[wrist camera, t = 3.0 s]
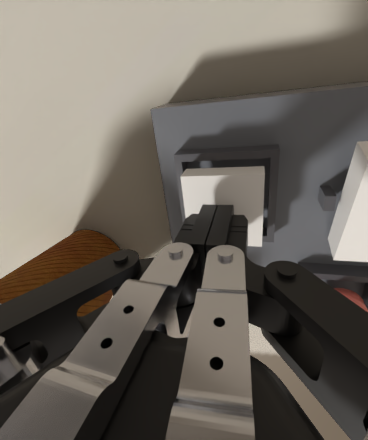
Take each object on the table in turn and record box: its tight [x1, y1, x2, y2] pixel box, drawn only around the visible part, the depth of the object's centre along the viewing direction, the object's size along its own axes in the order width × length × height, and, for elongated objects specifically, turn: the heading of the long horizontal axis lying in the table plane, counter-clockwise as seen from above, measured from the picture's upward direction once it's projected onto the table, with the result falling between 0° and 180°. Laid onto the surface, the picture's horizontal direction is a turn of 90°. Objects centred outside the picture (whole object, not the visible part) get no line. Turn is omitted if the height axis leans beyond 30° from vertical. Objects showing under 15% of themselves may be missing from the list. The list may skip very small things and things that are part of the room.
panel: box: [151, 81, 368, 310], centre depth 16 cm, size 16×15×4 cm
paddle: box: [180, 166, 265, 247], centre depth 13 cm, size 4×4×1 cm
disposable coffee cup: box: [0, 230, 120, 316], centre depth 20 cm, size 10×10×12 cm
